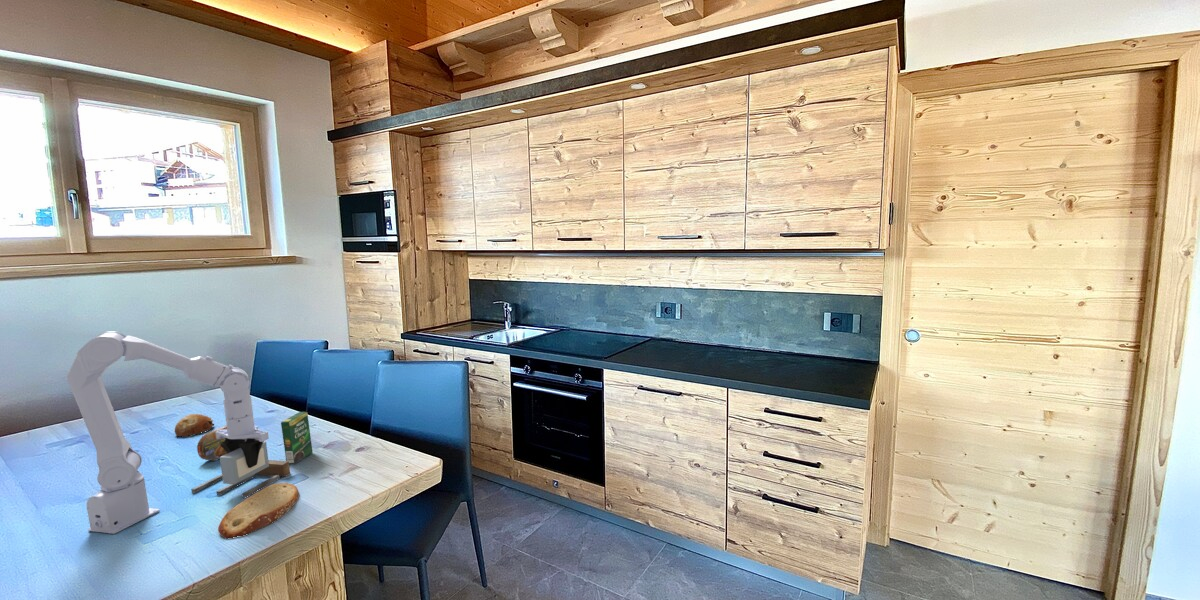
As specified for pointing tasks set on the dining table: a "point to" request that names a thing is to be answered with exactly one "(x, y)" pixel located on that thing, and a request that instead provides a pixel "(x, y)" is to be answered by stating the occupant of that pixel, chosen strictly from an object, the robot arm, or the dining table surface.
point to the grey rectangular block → (241, 465)
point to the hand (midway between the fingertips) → (245, 465)
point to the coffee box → (296, 437)
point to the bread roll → (193, 425)
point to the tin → (211, 446)
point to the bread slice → (258, 510)
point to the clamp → (273, 470)
